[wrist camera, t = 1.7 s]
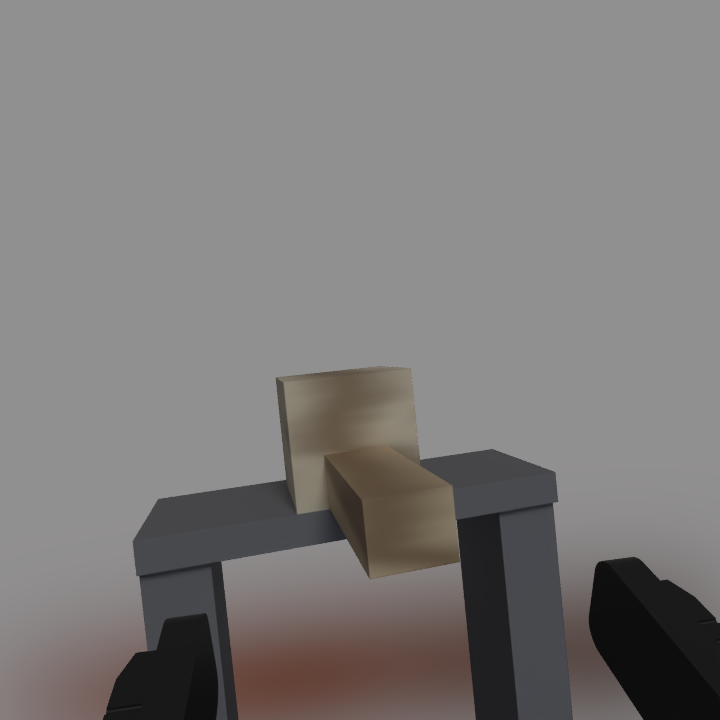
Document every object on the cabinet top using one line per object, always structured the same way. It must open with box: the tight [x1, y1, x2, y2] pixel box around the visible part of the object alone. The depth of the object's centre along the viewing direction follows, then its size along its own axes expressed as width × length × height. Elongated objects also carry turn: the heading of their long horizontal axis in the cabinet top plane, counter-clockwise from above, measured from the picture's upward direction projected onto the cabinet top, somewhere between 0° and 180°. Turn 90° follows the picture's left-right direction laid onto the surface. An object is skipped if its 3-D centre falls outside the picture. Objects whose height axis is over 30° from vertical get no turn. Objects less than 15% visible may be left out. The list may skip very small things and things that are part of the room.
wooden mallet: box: [276, 366, 460, 579], centre depth 24 cm, size 6×14×6 cm, turn 12°
